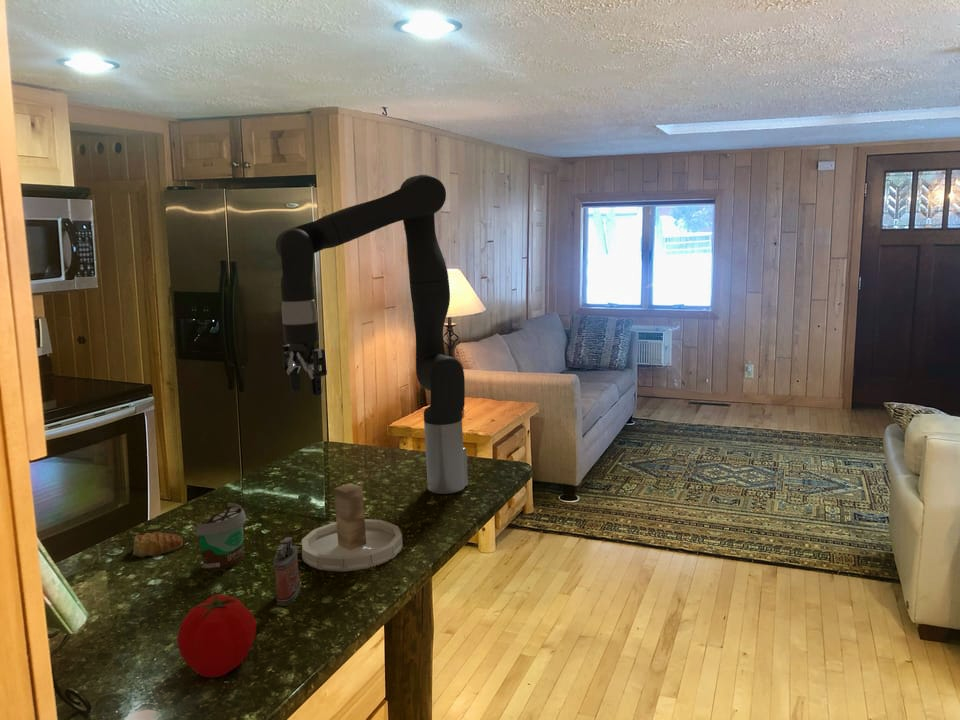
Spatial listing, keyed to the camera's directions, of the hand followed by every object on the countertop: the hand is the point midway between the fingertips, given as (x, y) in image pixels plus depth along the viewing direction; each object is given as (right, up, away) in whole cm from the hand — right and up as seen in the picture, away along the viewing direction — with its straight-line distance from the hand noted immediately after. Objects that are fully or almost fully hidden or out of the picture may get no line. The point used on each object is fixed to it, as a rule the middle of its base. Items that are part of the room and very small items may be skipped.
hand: (305, 392), depth 171 cm
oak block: (+13, -30, -17) cm, 37 cm away
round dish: (+13, -31, -17) cm, 38 cm away
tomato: (0, -39, -56) cm, 68 cm away
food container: (-10, -33, -20) cm, 40 cm away
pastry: (-28, -32, -13) cm, 45 cm away
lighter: (+5, -35, -35) cm, 49 cm away
